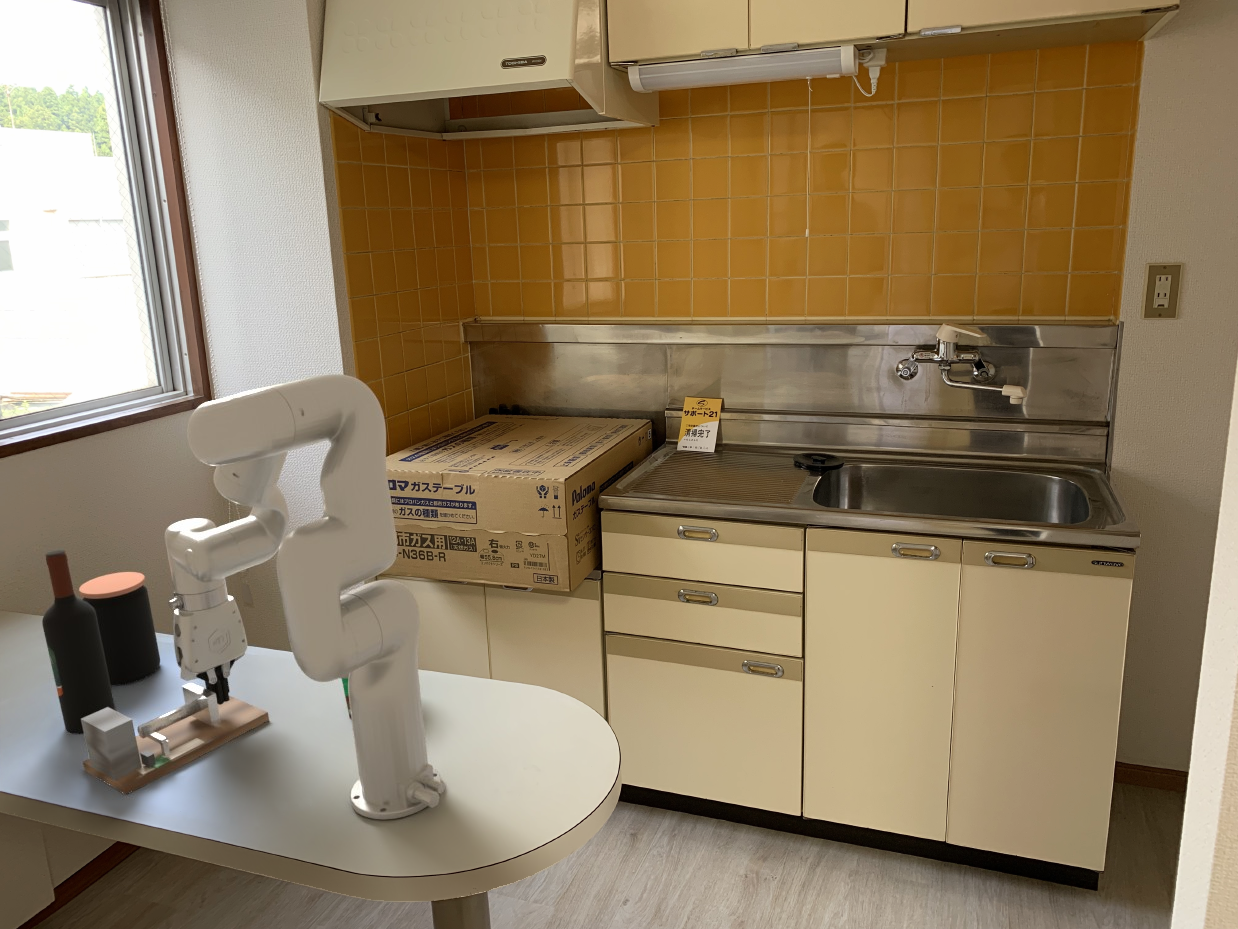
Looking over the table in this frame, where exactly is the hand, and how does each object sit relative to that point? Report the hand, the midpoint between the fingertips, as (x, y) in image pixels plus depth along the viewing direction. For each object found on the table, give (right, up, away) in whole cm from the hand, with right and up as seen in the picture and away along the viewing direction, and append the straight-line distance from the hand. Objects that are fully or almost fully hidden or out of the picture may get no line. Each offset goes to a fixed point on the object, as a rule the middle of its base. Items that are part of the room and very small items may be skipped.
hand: (219, 700), depth 154 cm
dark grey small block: (-5, -6, -14) cm, 16 cm away
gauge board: (-4, -6, -5) cm, 9 cm away
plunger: (-4, -4, -6) cm, 8 cm away
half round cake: (+25, -2, +5) cm, 25 cm away
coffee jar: (-25, 0, +20) cm, 32 cm away
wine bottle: (-23, -5, +3) cm, 24 cm away
